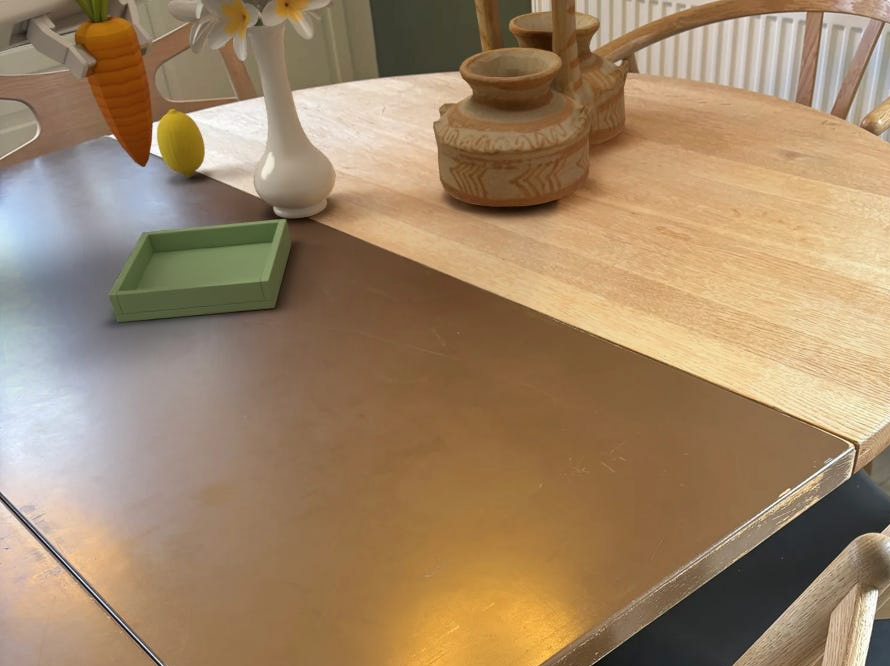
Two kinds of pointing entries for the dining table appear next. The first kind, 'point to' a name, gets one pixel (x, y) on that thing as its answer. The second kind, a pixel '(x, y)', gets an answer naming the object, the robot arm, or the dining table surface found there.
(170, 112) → the lemon
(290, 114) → the flower vase
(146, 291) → the green tray
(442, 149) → the ceramic vessel
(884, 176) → the dining table surface
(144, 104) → the carrot
